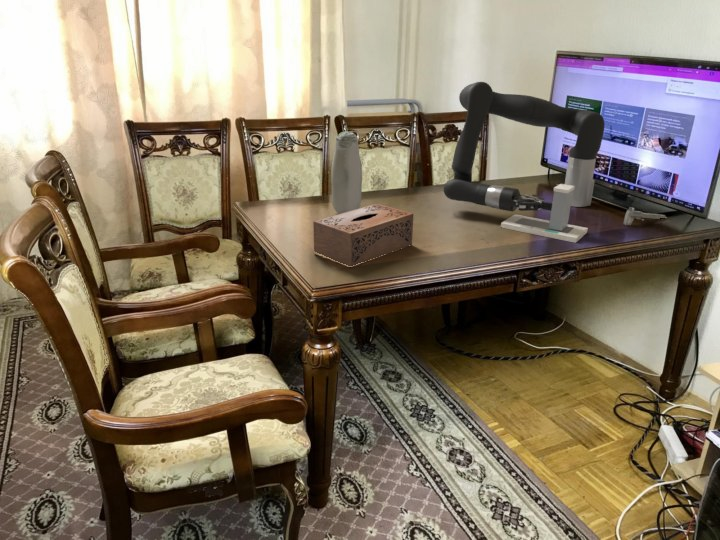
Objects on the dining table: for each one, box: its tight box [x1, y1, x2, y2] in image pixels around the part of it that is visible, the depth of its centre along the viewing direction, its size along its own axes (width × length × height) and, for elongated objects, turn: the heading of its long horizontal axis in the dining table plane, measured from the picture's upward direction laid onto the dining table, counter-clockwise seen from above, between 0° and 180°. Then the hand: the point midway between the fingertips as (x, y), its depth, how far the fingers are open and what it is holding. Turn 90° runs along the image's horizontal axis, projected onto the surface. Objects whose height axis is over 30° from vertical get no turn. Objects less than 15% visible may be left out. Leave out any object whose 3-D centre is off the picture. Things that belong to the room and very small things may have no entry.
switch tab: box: [549, 183, 575, 231], centre depth 182 cm, size 4×6×13 cm
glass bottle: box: [330, 130, 363, 215], centre depth 194 cm, size 10×10×28 cm
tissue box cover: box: [312, 203, 414, 266], centre depth 167 cm, size 26×14×10 cm, turn 136°
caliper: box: [623, 206, 668, 226], centre depth 196 cm, size 20×1×6 cm, turn 117°
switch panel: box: [500, 213, 589, 244], centre depth 187 cm, size 24×12×2 cm, turn 55°
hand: (554, 207), depth 183 cm, fingers closed
